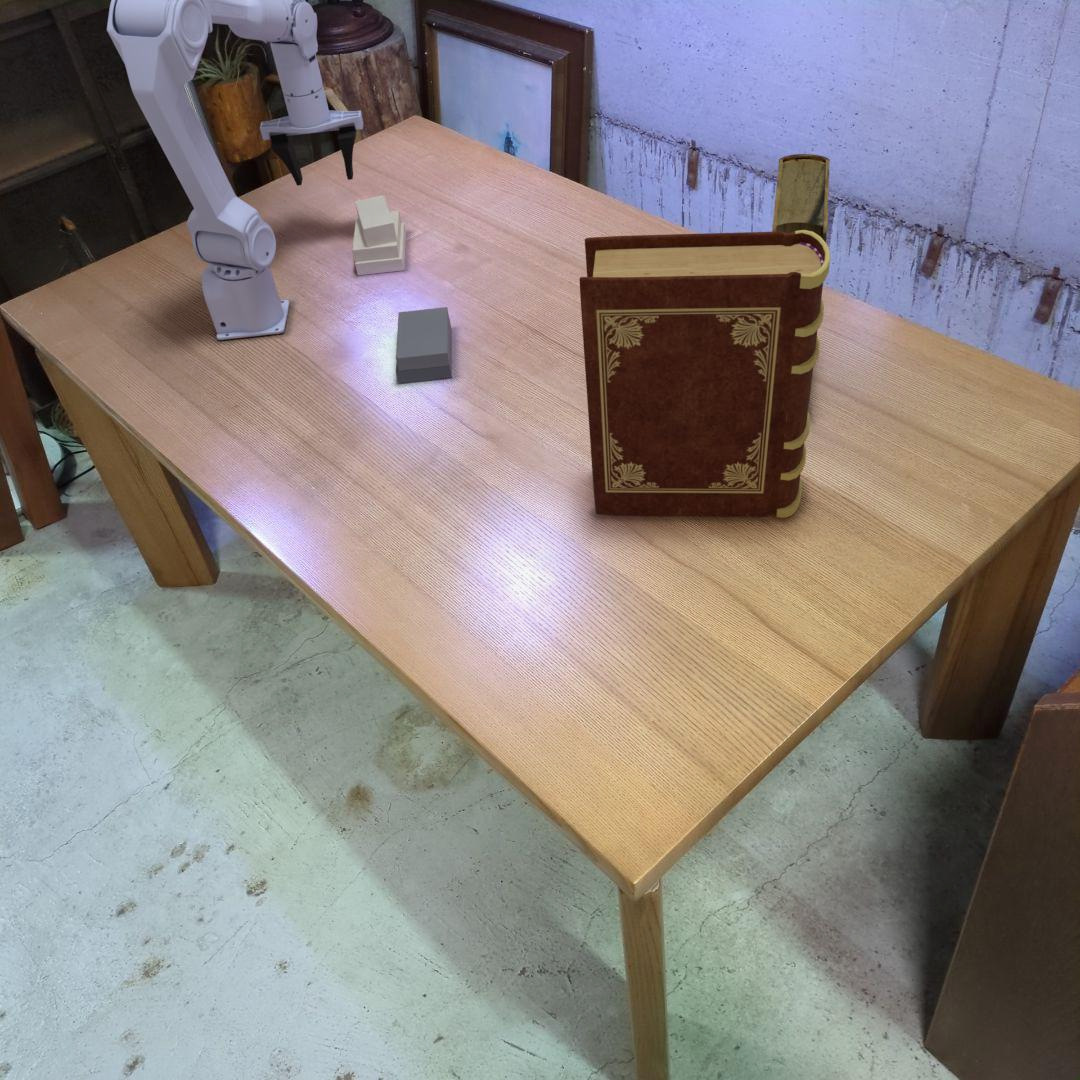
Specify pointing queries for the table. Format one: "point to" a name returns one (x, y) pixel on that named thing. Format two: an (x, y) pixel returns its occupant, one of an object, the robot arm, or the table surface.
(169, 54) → the robot arm
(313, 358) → the table surface
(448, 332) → the grey stack
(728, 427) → the decorative book
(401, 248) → the cream stack
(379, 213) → the cream rectangular block
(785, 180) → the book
